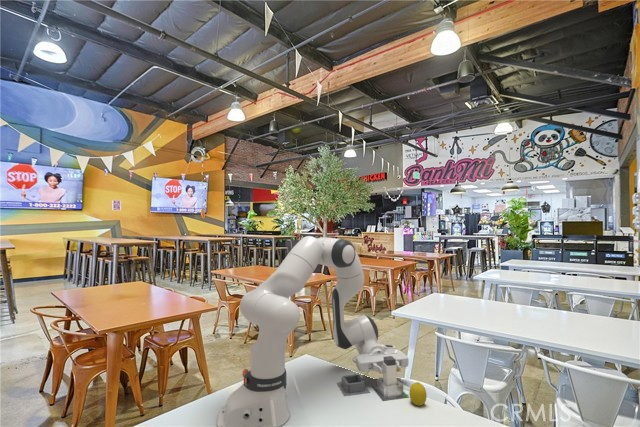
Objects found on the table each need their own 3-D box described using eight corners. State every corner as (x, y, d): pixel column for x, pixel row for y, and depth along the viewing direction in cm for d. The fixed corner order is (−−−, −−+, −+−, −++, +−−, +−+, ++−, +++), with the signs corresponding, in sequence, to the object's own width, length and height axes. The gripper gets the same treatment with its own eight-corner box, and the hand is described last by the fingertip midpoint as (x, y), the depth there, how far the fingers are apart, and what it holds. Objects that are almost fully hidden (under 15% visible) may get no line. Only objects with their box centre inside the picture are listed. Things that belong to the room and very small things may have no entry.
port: (382, 404, 108) (382, 390, 109) (371, 389, 118) (371, 377, 118) (409, 400, 111) (409, 387, 111) (396, 386, 120) (396, 374, 121)
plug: (387, 395, 112) (387, 360, 113) (383, 389, 116) (382, 356, 116) (396, 393, 113) (396, 359, 114) (392, 388, 117) (391, 355, 117)
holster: (344, 399, 111) (344, 387, 112) (336, 385, 121) (336, 374, 121) (370, 395, 114) (370, 384, 114) (360, 382, 123) (360, 371, 124)
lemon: (427, 412, 104) (427, 387, 104) (410, 410, 105) (409, 385, 105) (425, 402, 109) (425, 379, 109) (408, 401, 110) (408, 377, 111)
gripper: (350, 349, 125) (363, 364, 112) (398, 345, 130) (415, 358, 116) (350, 365, 125) (363, 382, 111) (398, 360, 130) (416, 376, 116)
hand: (390, 370), depth 114 cm, fingers open, 5 cm apart
